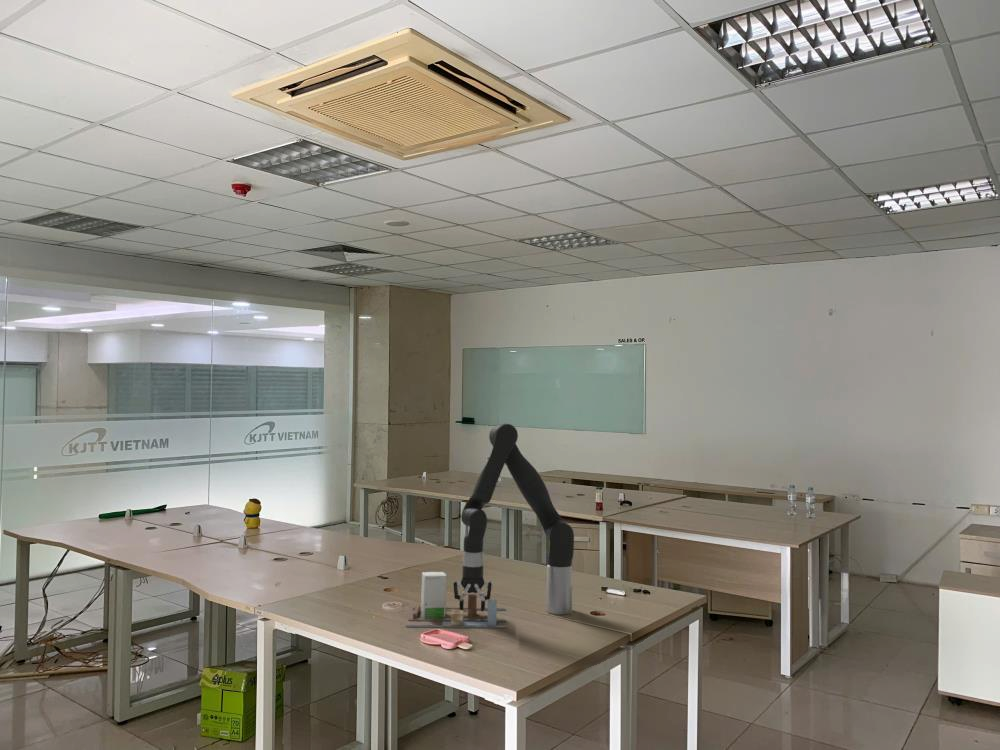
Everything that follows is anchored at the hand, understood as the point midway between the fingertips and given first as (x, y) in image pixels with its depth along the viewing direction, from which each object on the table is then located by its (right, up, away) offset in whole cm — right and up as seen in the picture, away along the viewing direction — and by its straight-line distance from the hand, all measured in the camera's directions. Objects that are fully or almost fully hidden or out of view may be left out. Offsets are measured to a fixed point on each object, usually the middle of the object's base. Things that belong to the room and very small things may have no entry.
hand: (472, 610), depth 250 cm
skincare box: (-14, -3, 0) cm, 14 cm away
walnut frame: (-9, -2, 0) cm, 10 cm away
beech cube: (-5, -1, -10) cm, 12 cm away
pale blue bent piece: (-1, -2, -10) cm, 11 cm away
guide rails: (-5, -2, -4) cm, 7 cm away
